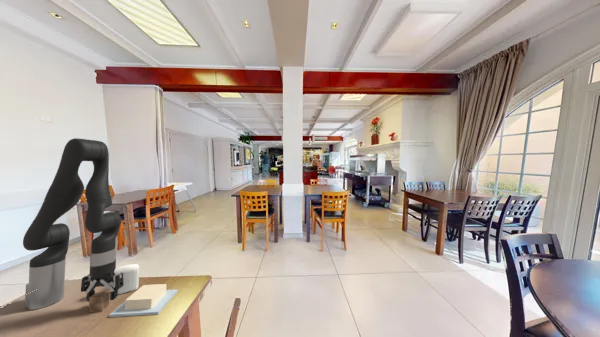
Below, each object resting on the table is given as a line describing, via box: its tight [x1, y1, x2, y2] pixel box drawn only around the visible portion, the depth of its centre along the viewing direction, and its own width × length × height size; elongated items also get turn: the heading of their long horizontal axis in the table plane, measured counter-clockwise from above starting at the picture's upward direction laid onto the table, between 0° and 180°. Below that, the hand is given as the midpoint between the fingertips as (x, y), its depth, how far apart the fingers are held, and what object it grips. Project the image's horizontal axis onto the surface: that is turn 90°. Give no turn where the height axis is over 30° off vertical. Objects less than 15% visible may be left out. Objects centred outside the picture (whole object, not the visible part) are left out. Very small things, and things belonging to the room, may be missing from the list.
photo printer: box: [109, 263, 140, 295], centre depth 87 cm, size 10×4×12 cm, turn 123°
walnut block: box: [88, 288, 115, 313], centre depth 76 cm, size 5×5×6 cm
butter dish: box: [108, 283, 179, 318], centre depth 79 cm, size 18×14×5 cm
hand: (102, 299), depth 76 cm, fingers open, 8 cm apart
